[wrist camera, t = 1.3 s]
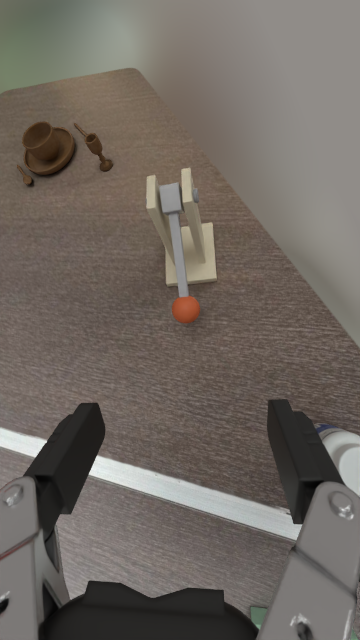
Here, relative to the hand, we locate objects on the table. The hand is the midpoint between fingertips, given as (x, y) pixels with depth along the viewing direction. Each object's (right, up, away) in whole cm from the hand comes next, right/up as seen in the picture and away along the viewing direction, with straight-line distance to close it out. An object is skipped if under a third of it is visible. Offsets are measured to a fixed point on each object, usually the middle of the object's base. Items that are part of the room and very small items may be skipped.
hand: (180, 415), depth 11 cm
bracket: (+2, +15, +29) cm, 33 cm away
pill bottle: (+18, -11, +19) cm, 28 cm away
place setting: (-25, +38, +41) cm, 61 cm away
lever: (0, +12, +20) cm, 24 cm away
